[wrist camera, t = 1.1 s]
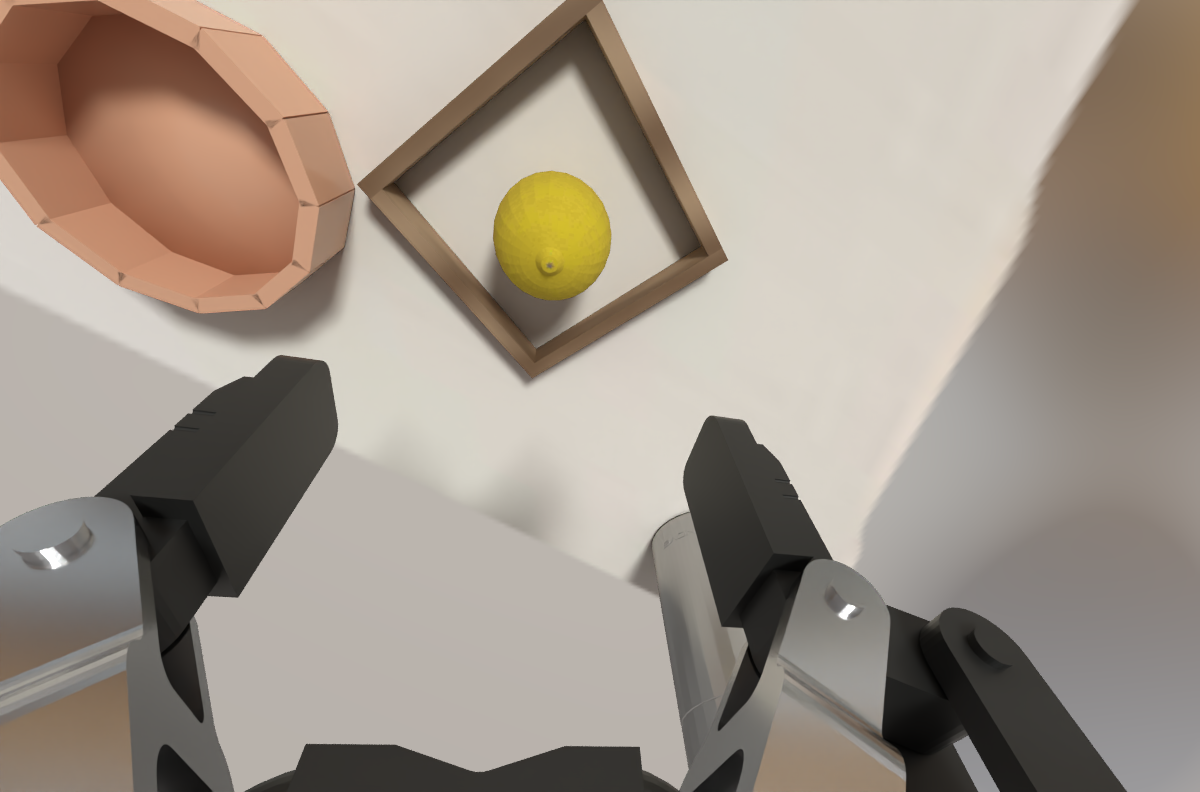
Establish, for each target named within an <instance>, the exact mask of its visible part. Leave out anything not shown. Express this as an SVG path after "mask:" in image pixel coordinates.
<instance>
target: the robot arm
mask: <svg viewBox="0 0 1200 792" xmlns="http://www.w3.org/2000/svg"><path fill="white" fill-rule="evenodd" d="M337 432H338V419H337V413H336V407H335V401H334V395H333V389H332V383H331V377H330V371H329V368H328V365H327V364H326V363H325V362H324V361H320V360H313V359H306V358H299V357H291V356H284V355H279V356H277V357H275V358H274V359H273V360H272V361H270V362H269V363H268V364H267V365H266V366H265V367H264V368H263V369H262V370H261V371H260V372H259V373H258V374H257V375H256V376H255V377H254V378H252V377H245V376H244V377H242V378H240V379H238V380H236V381H234V382H232V383H229V384H227V385H225V386H223V387H221V388H219V389H217V390H215V391H213V392H212V393H211V394H210V395H209V396H208V397H207V398H205V399H204V400H203V401H202V402H201V403H200V404H199V405H197V406H196V407H195V408H194V409H193V413H192V414H187V415H186V416H185V417H184V418H183V419H182V420H180V421H179V422H178V423H177V424H176V425H175V429H174V430H169V431H168V432H167V433H166V434H165V435H163V436H162V437H161V438H160V439H159V440H158V441H157V442H156V443H154V444H153V445H152V446H151V447H150V448H149V449H148V450H146V451H145V452H144V453H143V454H142V455H141V456H140V457H139V458H137V459H136V460H135V461H134V462H133V463H132V464H131V465H130V466H128V467H127V468H126V469H125V470H124V471H123V472H122V473H120V474H119V475H118V476H117V477H116V478H115V479H114V480H113V481H111V482H110V483H109V484H108V485H107V486H106V487H105V488H103V489H102V490H101V491H100V492H99V493H98V494H97V495H95V496H94V497H81V498H74V499H68V500H64V501H59V502H55V503H52V504H48V505H45V506H42V507H39V508H37V509H34V510H31V511H29V512H26V513H24V514H22V515H20V516H18V517H16V518H14V519H12V520H10V521H8V522H7V523H5V524H3V525H1V526H0V792H234V788H233V784H232V779H231V776H230V772H229V769H228V765H227V762H226V759H225V756H224V754H223V751H222V749H221V746H220V744H219V741H218V738H217V734H216V730H215V726H214V721H213V715H212V709H211V703H210V697H209V691H208V685H207V679H206V673H205V667H204V662H203V655H202V649H201V643H200V637H199V631H198V625H197V622H196V619H195V617H194V615H195V613H196V612H197V610H198V609H199V607H200V606H201V605H202V603H203V602H204V600H205V599H206V598H207V596H219V597H239V595H240V594H241V592H242V591H243V589H244V587H245V586H246V584H247V583H248V581H249V579H250V578H251V576H252V575H253V573H254V572H255V570H256V568H257V567H258V566H259V564H260V562H261V561H262V559H263V558H264V556H265V555H266V553H267V551H268V550H269V548H270V546H271V545H272V543H273V542H274V540H275V539H276V537H277V536H278V534H279V532H280V531H281V529H282V528H283V526H284V525H285V523H286V522H287V520H288V518H289V517H290V515H291V514H292V512H293V511H294V509H295V507H296V506H297V504H298V503H299V501H300V500H301V498H302V497H303V495H304V493H305V492H306V490H307V489H308V487H309V485H310V484H311V482H312V481H313V479H314V478H315V476H316V474H317V473H318V471H319V470H320V468H321V467H322V465H323V463H324V462H325V460H326V459H327V457H328V456H329V454H330V453H331V451H332V449H333V447H334V444H335V441H336V437H337ZM683 485H684V491H685V495H686V499H687V502H688V506H689V510H690V512H689V513H686V514H683V515H681V516H678V517H676V518H674V519H672V520H670V521H669V522H667V523H666V524H665V525H664V526H662V527H661V528H660V529H659V531H658V532H657V533H656V535H655V537H654V538H653V542H652V551H653V558H654V564H655V570H656V576H657V583H658V590H659V596H660V602H661V608H662V614H663V620H664V626H665V632H666V637H667V644H668V650H669V656H670V662H671V668H672V674H673V680H674V685H675V691H676V697H677V704H678V709H679V716H680V722H681V726H682V732H683V738H684V744H685V750H686V756H687V762H688V767H689V770H688V773H687V774H686V777H685V779H684V781H683V783H682V786H681V788H680V790H679V791H678V790H677V789H676V788H674V787H673V786H671V785H670V784H669V783H667V782H665V781H664V780H662V779H660V778H658V777H656V776H654V775H653V774H651V773H649V772H646V771H643V770H642V765H641V756H640V747H588V746H585V747H583V746H564V747H561V748H558V749H555V750H552V751H548V752H546V753H542V754H539V755H536V756H533V757H530V758H527V759H524V760H521V761H517V762H514V763H512V764H508V765H505V766H502V767H499V768H496V769H493V770H489V771H485V772H473V771H469V770H466V769H464V768H460V767H458V766H455V765H452V764H449V763H446V762H443V761H441V760H437V759H435V758H432V757H429V756H426V755H423V754H420V753H417V752H415V751H412V750H409V749H406V748H403V747H400V746H397V745H356V744H355V745H354V744H353V745H352V744H351V745H350V744H348V745H347V744H306V745H305V747H304V750H303V752H302V755H301V758H300V760H299V762H298V765H297V768H296V770H293V771H290V772H287V773H284V774H281V775H279V776H276V777H274V778H272V779H269V780H267V781H264V782H262V783H260V784H258V785H256V786H254V787H252V788H250V789H248V790H246V791H245V792H978V791H977V789H976V787H975V785H974V783H973V781H972V779H971V777H970V776H969V774H968V772H967V770H966V768H965V766H964V764H963V762H962V760H961V759H960V757H959V755H958V753H957V751H956V749H955V747H954V745H953V743H955V742H957V741H959V740H961V739H962V738H964V737H966V736H968V735H969V737H970V739H971V741H972V743H973V744H974V746H975V748H976V750H977V752H978V753H979V755H980V757H981V759H982V760H983V762H984V764H985V766H986V768H987V769H988V771H989V773H990V775H991V777H992V778H993V780H994V782H995V783H996V785H997V787H998V789H999V791H1000V792H1127V791H1126V790H1125V789H1124V787H1123V786H1122V785H1121V783H1120V782H1119V780H1118V779H1117V778H1116V776H1115V775H1114V774H1113V772H1112V771H1111V770H1110V768H1109V767H1108V766H1107V764H1106V763H1105V762H1104V760H1103V759H1102V757H1101V756H1100V755H1099V754H1098V752H1097V751H1096V749H1095V748H1094V747H1093V745H1092V744H1091V743H1090V742H1089V740H1088V739H1087V737H1086V736H1085V734H1084V733H1083V732H1082V730H1081V729H1080V728H1079V726H1078V725H1077V724H1076V722H1075V721H1074V720H1073V718H1072V717H1071V716H1070V714H1069V713H1068V712H1067V710H1066V709H1065V707H1064V706H1063V705H1062V703H1061V702H1060V701H1059V699H1058V698H1057V697H1056V695H1055V694H1054V693H1053V691H1052V690H1051V689H1050V687H1049V686H1048V685H1047V683H1046V682H1045V680H1044V679H1043V678H1042V676H1041V675H1040V674H1039V672H1038V671H1037V670H1036V668H1035V667H1034V666H1033V664H1032V663H1031V662H1030V660H1029V659H1028V657H1027V656H1026V655H1025V654H1024V652H1023V651H1022V650H1021V649H1020V647H1019V646H1018V645H1017V644H1016V643H1015V642H1014V641H1013V640H1012V639H1011V638H1010V637H1009V636H1008V635H1007V634H1006V633H1004V632H1003V631H1002V630H1001V629H1000V628H998V627H997V626H996V625H994V624H993V623H991V622H990V621H988V620H987V619H985V618H983V617H982V616H980V615H978V614H976V613H973V612H971V611H968V610H966V609H961V608H948V609H946V610H944V611H943V612H941V614H939V615H938V616H937V617H935V618H934V619H933V620H932V621H931V622H930V621H927V620H925V619H922V618H919V617H917V616H914V615H911V614H909V613H906V612H903V611H901V610H898V609H896V608H893V607H891V606H888V605H886V604H885V602H884V600H883V599H882V597H881V595H880V594H879V593H878V591H877V590H876V589H875V588H874V587H873V585H872V584H871V583H870V582H869V581H868V580H867V579H866V578H864V577H863V576H862V575H860V574H859V573H858V572H856V571H855V570H853V569H852V568H850V567H848V566H846V565H845V564H842V563H840V562H837V561H833V559H832V557H831V555H830V553H829V552H828V550H827V548H826V546H825V544H824V542H823V541H822V539H821V537H820V535H819V533H818V531H817V530H816V528H815V526H814V524H813V522H812V520H811V518H810V517H809V515H808V513H807V511H806V509H805V507H804V506H803V504H802V502H801V500H798V494H797V493H796V491H795V489H794V487H793V485H792V484H790V480H789V478H788V476H787V474H786V472H785V470H784V469H783V467H782V465H781V463H780V462H779V461H778V460H777V458H776V457H775V456H774V455H773V454H772V453H771V452H770V451H769V450H768V449H767V448H766V447H765V446H764V445H761V444H757V443H756V441H755V439H754V437H753V435H752V433H751V431H750V429H749V427H748V425H747V424H746V422H745V421H743V420H740V419H733V418H725V417H718V416H709V417H708V418H707V419H706V420H705V422H704V424H703V426H702V429H701V431H700V433H699V435H698V438H697V440H696V442H695V445H694V447H693V449H692V451H691V454H690V456H689V458H688V460H687V463H686V466H685V470H684V477H683Z"/></svg>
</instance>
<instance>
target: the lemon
mask: <svg viewBox="0 0 1200 792" xmlns="http://www.w3.org/2000/svg"><path fill="white" fill-rule="evenodd" d="M493 240H494V245H495V251H496V256H497V258H498V260H499V263H500V265H501V267H502V269H503V271H504V273H505V274H506V275H507V276H508V278H509V279H510V280H511V282H512V283H513V284H515V285H516V286H517V287H518V288H519V289H521V290H522V291H523V292H525V293H527V294H529V295H531V296H533V297H536V298H540V299H544V300H563V299H567V298H571V297H574V296H576V295H578V294H580V293H582V292H584V291H585V290H586V289H587V288H588V287H589V286H590V285H592V284H593V283H594V282H595V281H596V279H597V278H598V276H599V275H600V273H601V272H602V270H603V269H604V267H605V264H606V261H607V259H608V256H609V253H610V245H611V229H610V222H609V217H608V215H607V212H606V210H605V208H604V205H603V203H602V201H601V200H600V199H599V197H598V196H597V195H596V193H595V192H594V191H593V189H592V188H590V187H589V186H588V185H587V184H585V183H584V182H583V181H582V180H580V179H578V178H576V177H574V176H572V175H569V174H567V173H562V172H555V171H547V172H539V173H535V174H533V175H530V176H528V177H525V178H523V179H521V180H520V181H519V182H518V183H517V184H515V185H514V186H513V187H512V188H511V189H510V190H509V191H508V192H507V194H506V195H505V197H504V198H503V200H502V201H501V203H500V205H499V208H498V211H497V214H496V217H495V220H494V232H493Z"/></svg>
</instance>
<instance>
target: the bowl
mask: <svg viewBox="0 0 1200 792" xmlns="http://www.w3.org/2000/svg"><path fill="white" fill-rule="evenodd" d="M327 112H328V111H327V110H326V108H325V107H324V106H323V105H322V104H321V103H320V101H319V100H318V99H317V98H316V97H315V96H314V94H313V93H312V92H311V91H310V90H309V89H308V87H307V86H306V85H305V84H304V83H303V82H302V81H301V79H300V78H299V77H298V76H297V75H296V74H295V72H294V71H293V70H292V69H291V68H290V67H289V65H288V64H287V63H286V62H285V61H284V60H283V58H282V57H281V56H280V55H279V54H278V53H277V51H276V50H275V49H274V48H273V47H272V46H271V45H270V43H269V42H268V41H267V40H266V39H265V38H264V37H262V35H261V34H259V33H257V32H255V31H253V30H251V29H249V28H247V27H245V26H243V25H242V24H240V23H238V22H236V21H234V20H232V19H230V18H228V17H226V16H224V15H223V14H221V13H219V12H217V11H215V10H213V9H211V8H209V7H207V6H205V5H203V4H202V3H200V2H198V1H196V0H0V180H1V181H2V182H3V184H4V185H5V186H6V187H7V189H8V190H9V191H10V193H11V194H12V195H13V197H14V198H15V199H16V201H17V202H18V203H19V204H20V206H21V207H22V208H23V210H24V211H25V212H26V214H27V215H28V216H29V218H30V219H31V220H32V222H33V223H34V224H35V225H37V224H38V225H37V227H38V228H40V229H41V230H42V231H44V232H45V233H47V234H48V235H49V236H51V237H52V238H53V239H55V240H56V241H58V242H59V243H60V244H62V245H63V246H64V247H66V248H67V249H69V250H70V251H71V252H73V253H74V254H75V255H77V256H78V257H80V258H81V259H82V260H84V261H85V262H87V263H88V264H89V265H91V266H92V267H93V268H95V269H96V270H98V271H99V272H100V273H102V274H103V275H104V276H106V277H107V278H109V279H110V280H111V281H113V282H114V283H115V284H117V285H119V286H121V287H124V288H127V289H130V290H132V291H135V292H138V293H141V294H144V295H147V296H150V297H153V298H156V299H158V300H161V301H164V302H167V303H170V304H173V305H176V306H179V307H182V308H185V309H187V310H190V311H193V312H196V313H200V314H201V313H215V312H230V311H244V310H259V309H266V308H268V307H269V306H271V305H272V304H273V303H275V302H276V301H278V300H279V299H280V298H282V297H283V296H284V295H286V294H287V293H288V292H290V291H291V290H292V289H294V288H295V287H296V286H298V285H299V284H300V283H302V282H303V281H304V280H306V279H307V278H308V277H309V276H310V275H312V274H313V273H314V272H315V271H316V270H318V269H319V268H320V267H321V266H322V265H324V264H325V263H326V262H327V261H328V260H330V259H331V258H332V257H333V256H334V255H336V254H337V253H338V252H339V251H340V250H342V249H343V247H344V246H345V240H346V235H347V230H348V224H349V219H350V213H351V208H352V202H353V197H354V192H355V189H354V188H355V187H354V184H353V181H352V178H351V176H350V173H349V170H348V167H347V164H346V161H345V158H344V155H343V152H342V149H341V146H340V144H339V141H338V138H337V135H336V132H335V129H334V126H333V123H332V120H331V117H330V114H329V113H327Z"/></svg>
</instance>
